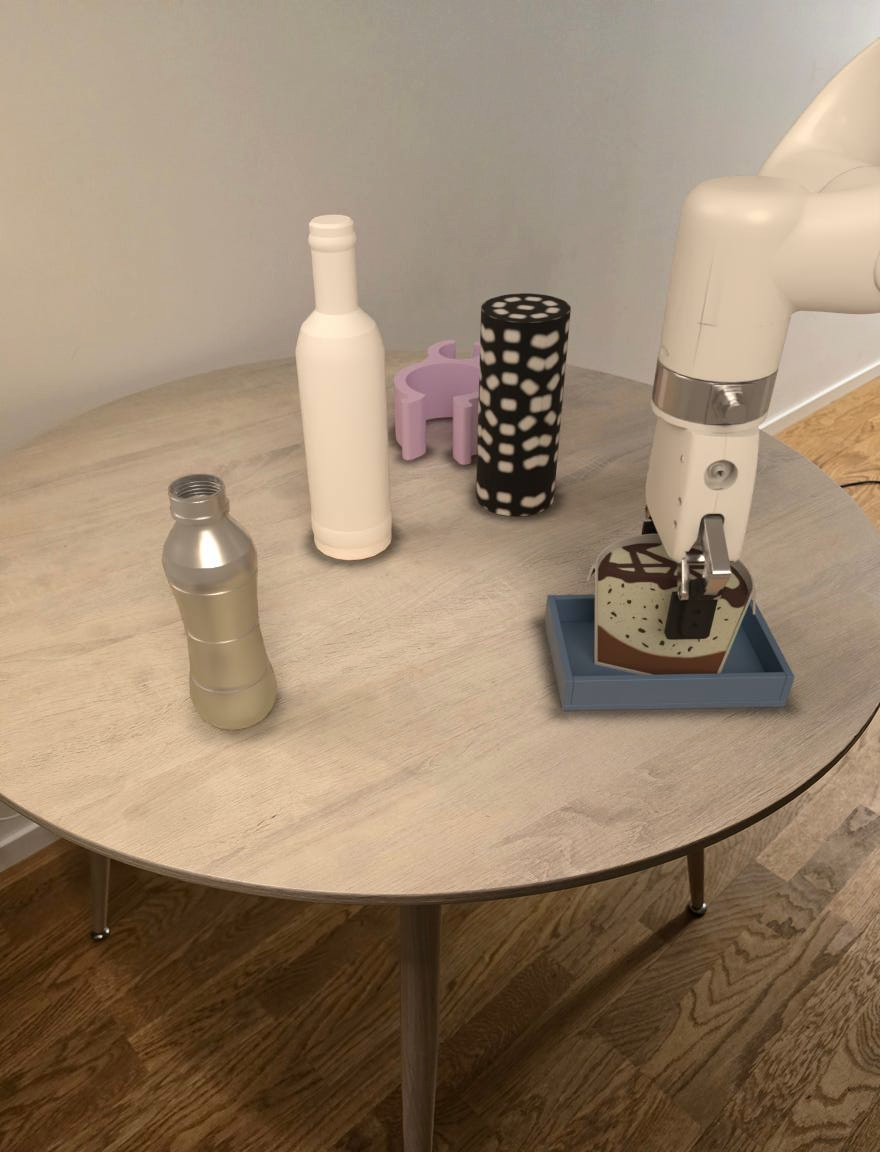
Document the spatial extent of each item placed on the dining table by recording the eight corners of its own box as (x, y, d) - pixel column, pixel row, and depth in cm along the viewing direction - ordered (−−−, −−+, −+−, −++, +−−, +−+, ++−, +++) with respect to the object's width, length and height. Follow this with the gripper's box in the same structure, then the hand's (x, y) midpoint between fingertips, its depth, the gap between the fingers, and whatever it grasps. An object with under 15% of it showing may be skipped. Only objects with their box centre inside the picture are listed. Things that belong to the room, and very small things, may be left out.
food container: (741, 649, 74) (769, 547, 67) (732, 696, 69) (761, 591, 63) (593, 617, 78) (607, 518, 71) (576, 660, 73) (589, 557, 67)
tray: (742, 619, 78) (749, 590, 76) (785, 707, 69) (795, 676, 67) (544, 623, 78) (547, 594, 76) (562, 711, 69) (566, 681, 68)
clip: (418, 389, 119) (417, 337, 114) (512, 395, 116) (515, 343, 112) (382, 458, 104) (380, 401, 99) (489, 466, 101) (491, 409, 97)
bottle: (389, 562, 86) (376, 232, 68) (308, 561, 87) (273, 233, 68) (394, 519, 93) (384, 206, 74) (319, 519, 93) (290, 207, 74)
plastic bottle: (221, 677, 74) (177, 456, 61) (295, 695, 72) (265, 471, 59) (179, 728, 69) (122, 501, 57) (256, 750, 67) (215, 519, 55)
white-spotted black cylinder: (465, 508, 94) (468, 317, 82) (489, 473, 100) (496, 289, 88) (541, 522, 91) (557, 327, 79) (562, 485, 97) (580, 298, 85)
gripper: (817, 446, 52) (753, 670, 63) (731, 339, 66) (690, 538, 76) (687, 449, 52) (646, 672, 63) (628, 342, 66) (602, 540, 76)
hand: (670, 598), depth 70 cm, fingers open, 9 cm apart
